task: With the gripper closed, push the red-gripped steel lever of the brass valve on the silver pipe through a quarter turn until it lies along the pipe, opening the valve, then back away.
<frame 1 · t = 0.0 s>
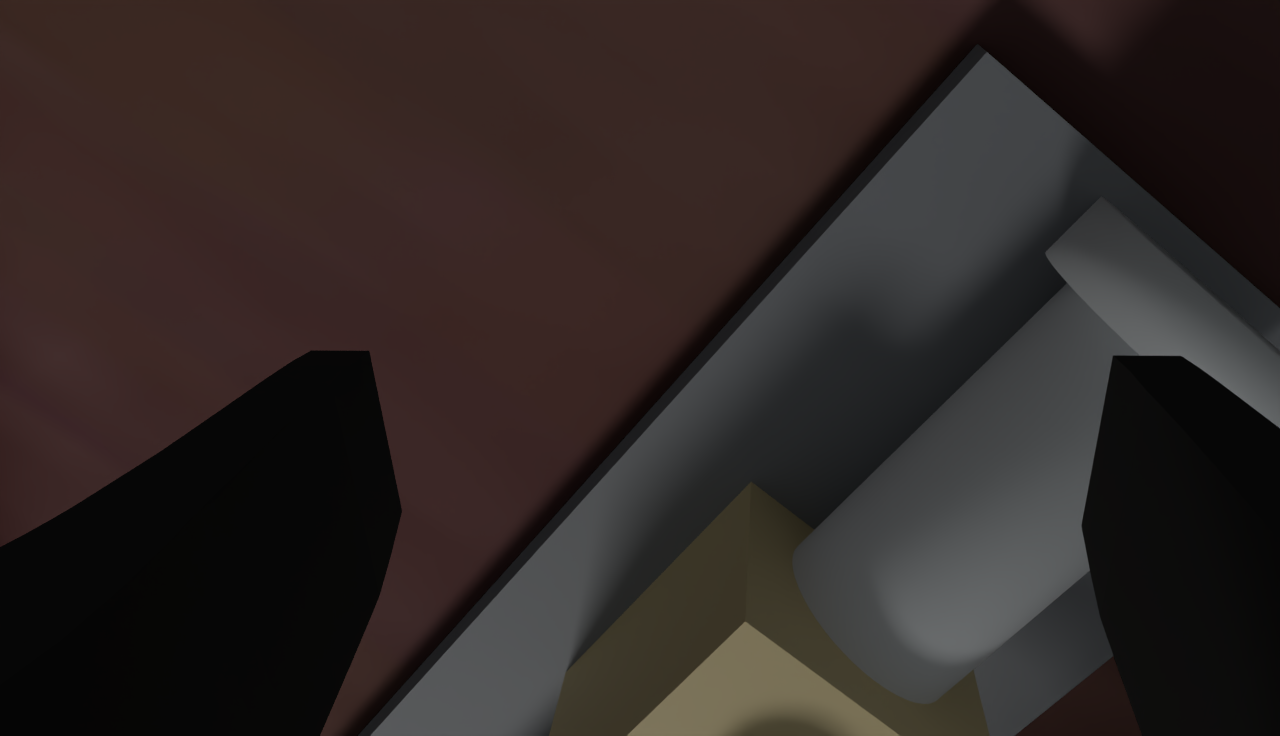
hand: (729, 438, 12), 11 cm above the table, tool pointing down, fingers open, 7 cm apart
valve on pipe: (761, 631, 25), on the table
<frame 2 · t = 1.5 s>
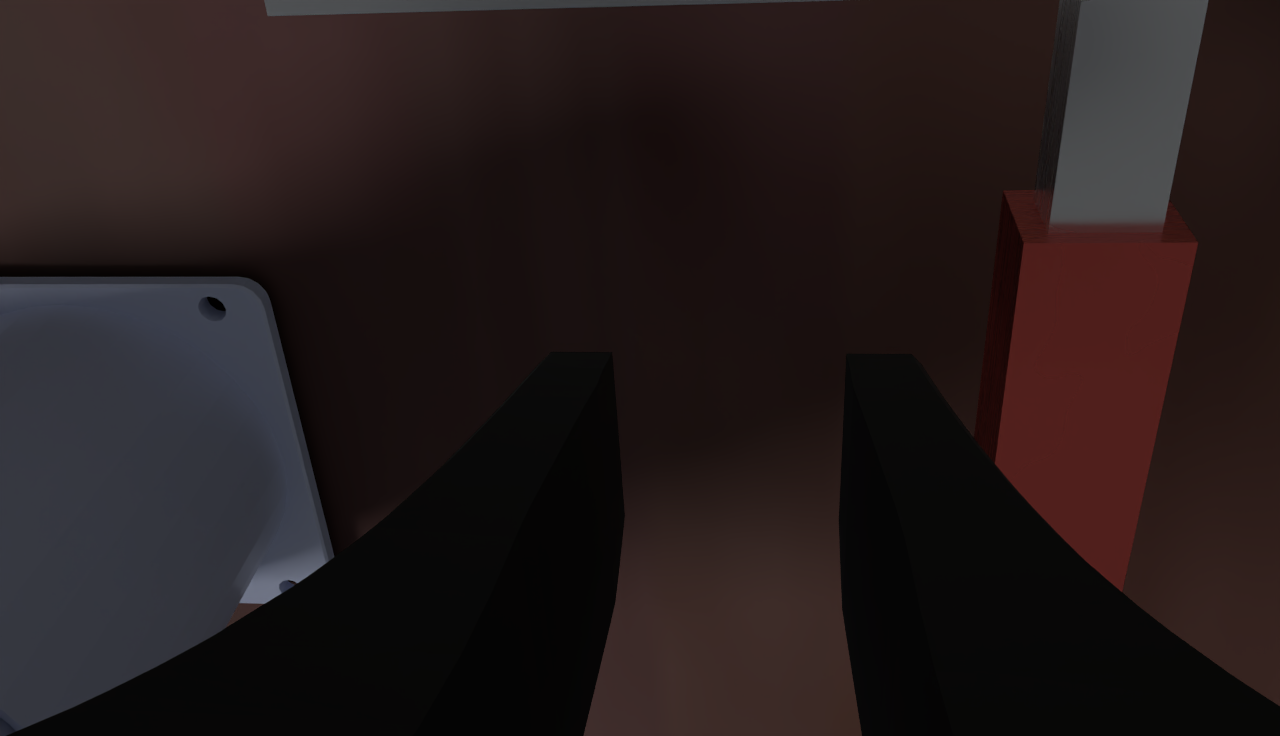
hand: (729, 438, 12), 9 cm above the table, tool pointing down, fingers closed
valve lever: (1111, 121, 13), point 6 cm above the table, hinge at 0.0°
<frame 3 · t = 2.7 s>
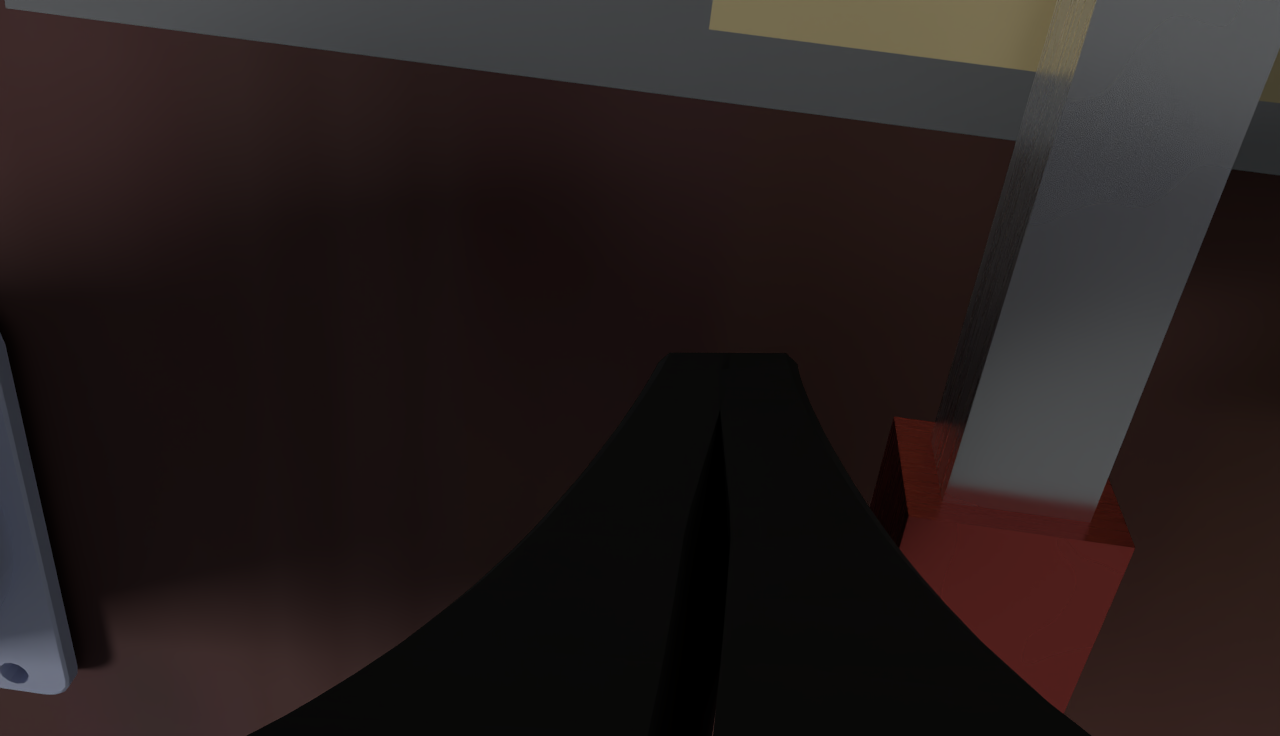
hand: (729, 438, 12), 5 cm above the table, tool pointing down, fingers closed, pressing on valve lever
valve lever: (1044, 369, 9), point 6 cm above the table, hinge at 0.0°, touching gripper
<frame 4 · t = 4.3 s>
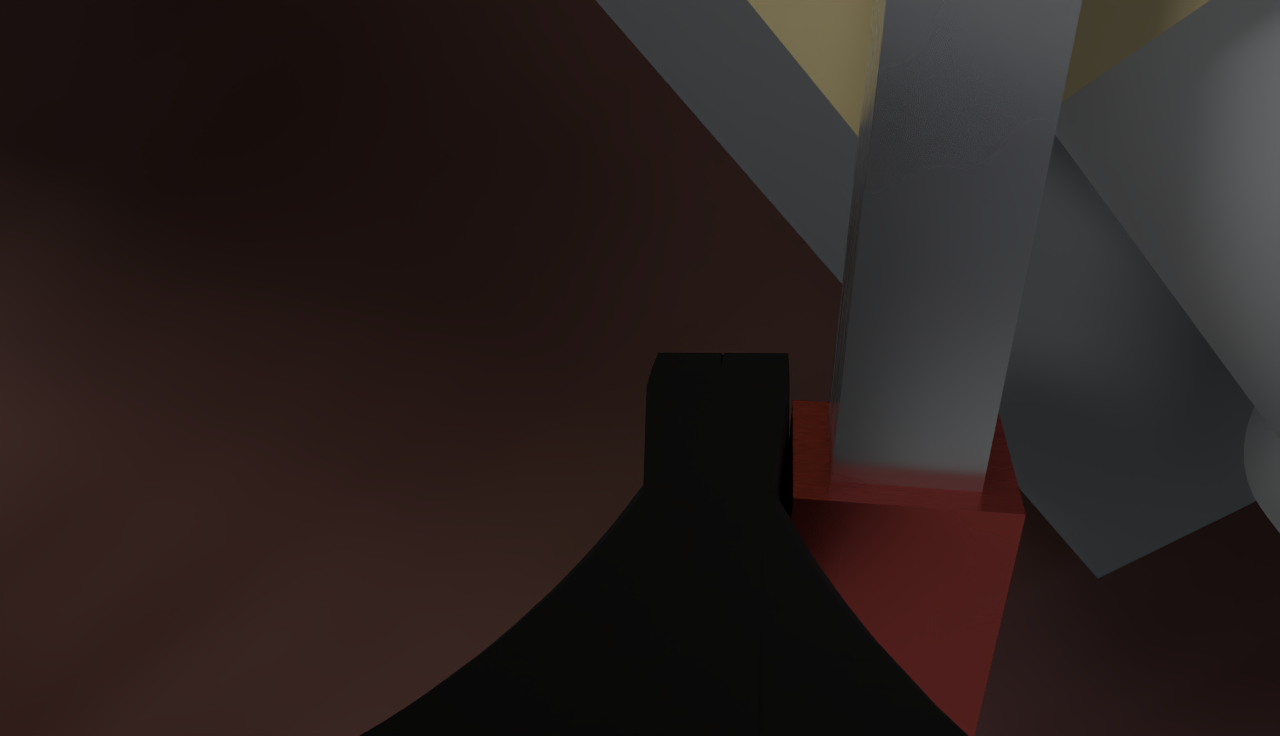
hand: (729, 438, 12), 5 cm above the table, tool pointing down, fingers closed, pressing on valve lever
valve lever: (918, 340, 9), point 6 cm above the table, hinge at 48.1°, touching gripper
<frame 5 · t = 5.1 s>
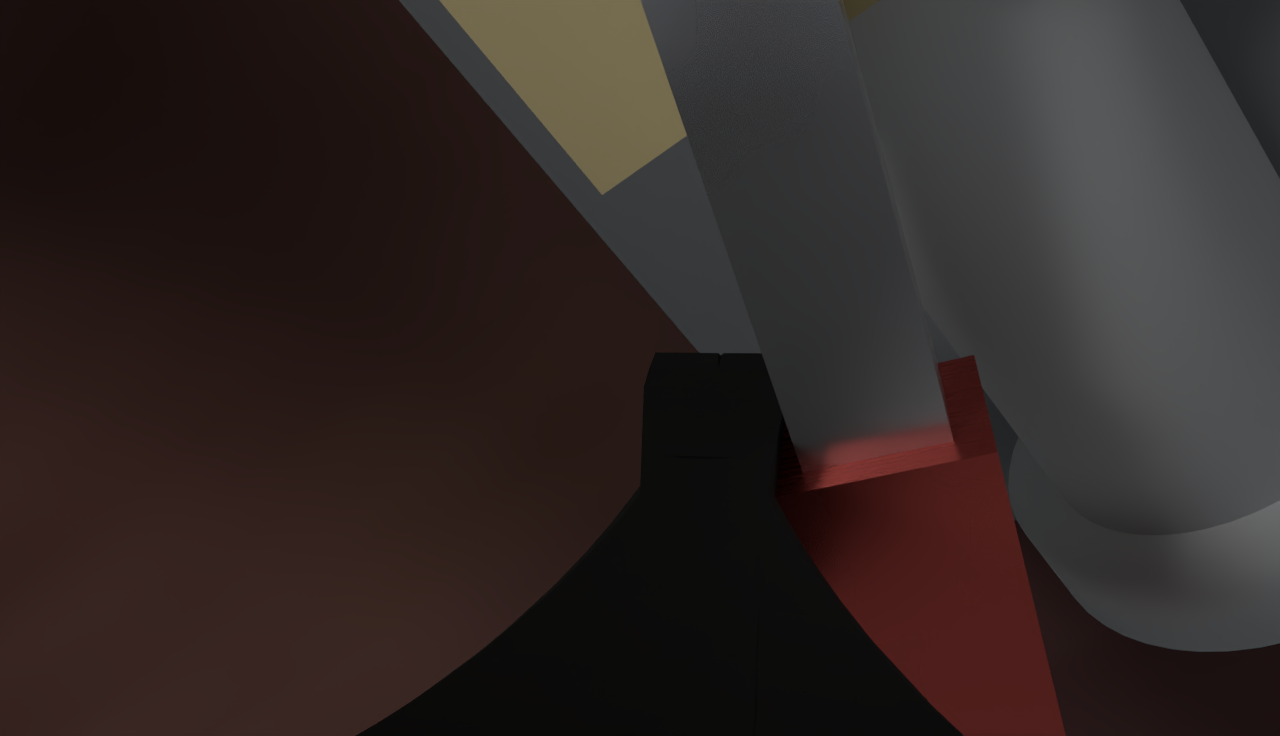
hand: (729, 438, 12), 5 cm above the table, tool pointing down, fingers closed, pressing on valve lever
valve lever: (840, 311, 9), point 6 cm above the table, hinge at 71.2°, touching gripper
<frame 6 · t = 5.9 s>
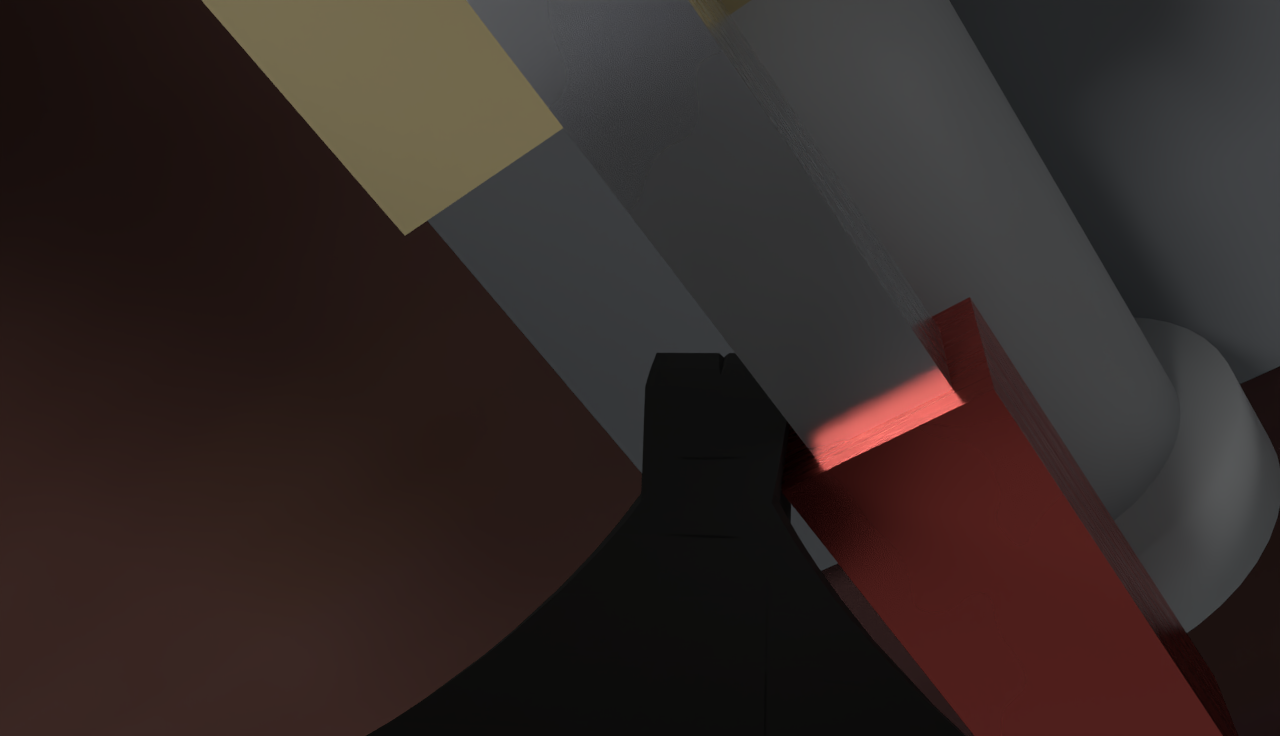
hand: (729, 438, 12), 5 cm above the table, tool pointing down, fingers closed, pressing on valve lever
valve lever: (805, 289, 9), point 6 cm above the table, hinge at 89.9°, touching gripper
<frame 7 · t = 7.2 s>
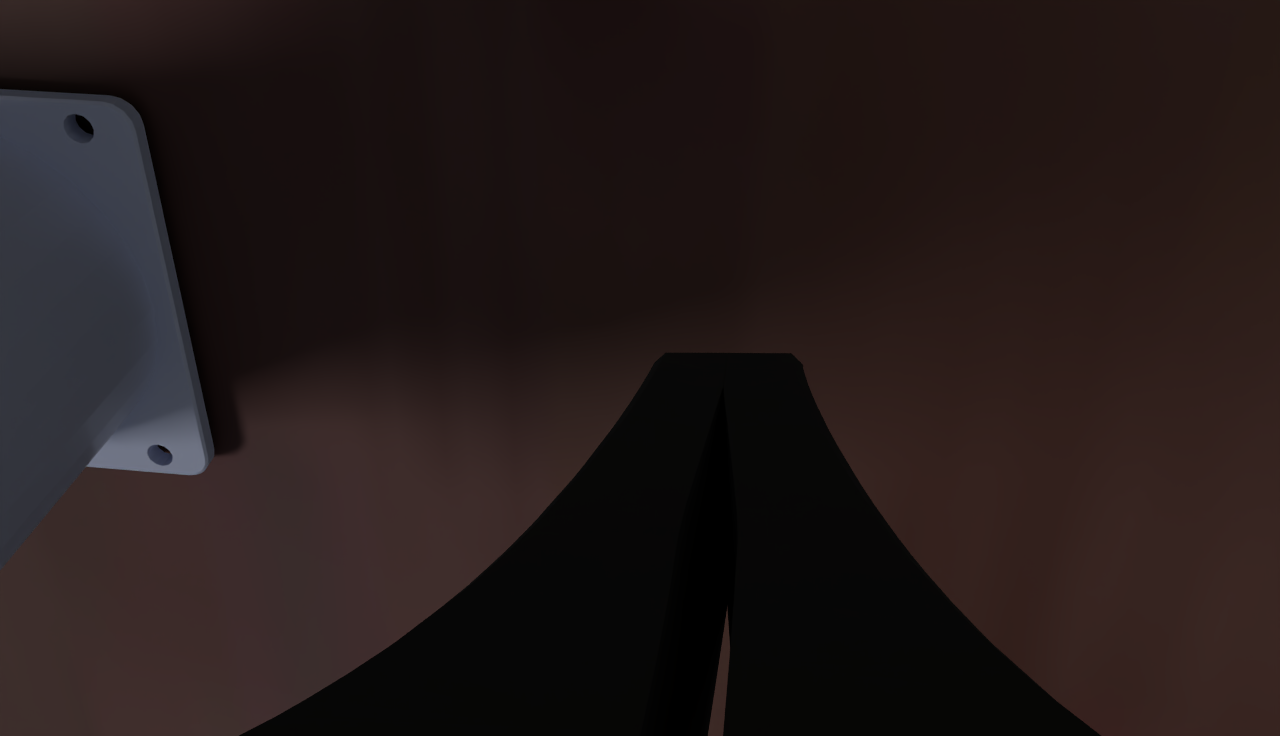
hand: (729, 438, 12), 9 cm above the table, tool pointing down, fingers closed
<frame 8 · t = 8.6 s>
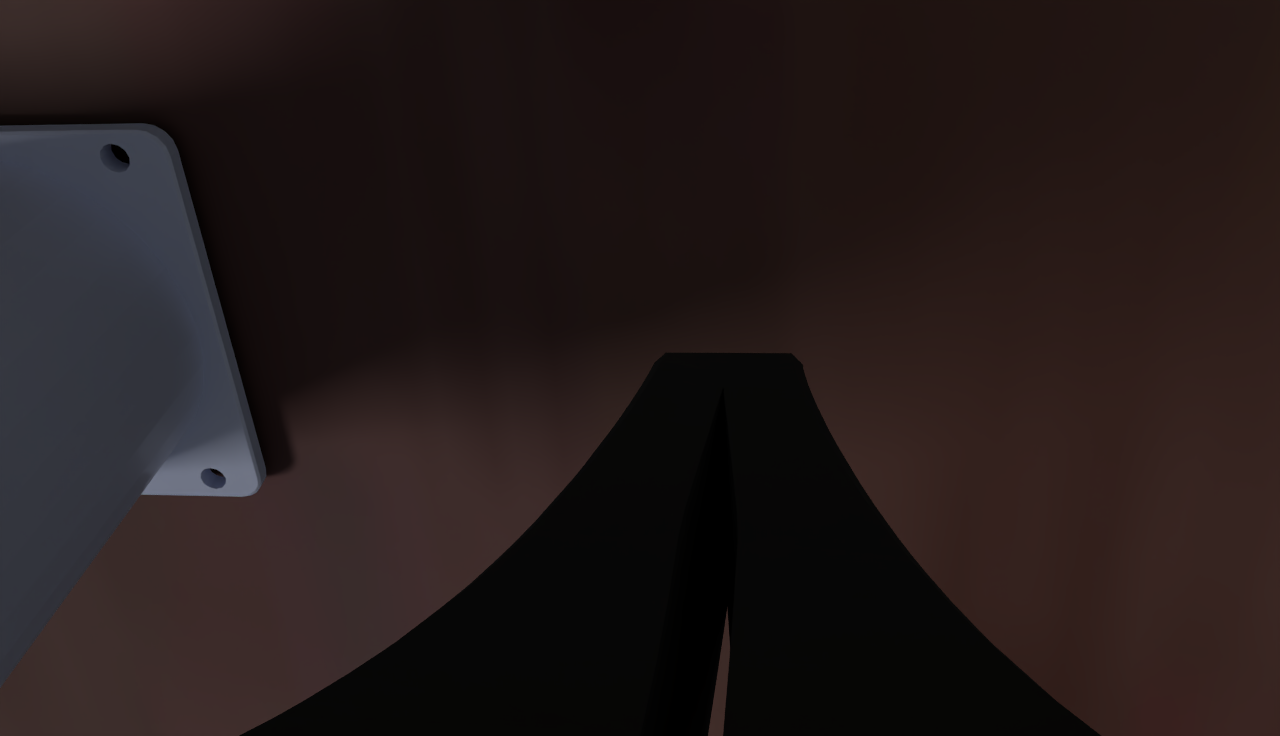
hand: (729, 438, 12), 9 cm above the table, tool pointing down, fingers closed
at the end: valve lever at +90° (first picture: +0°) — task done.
